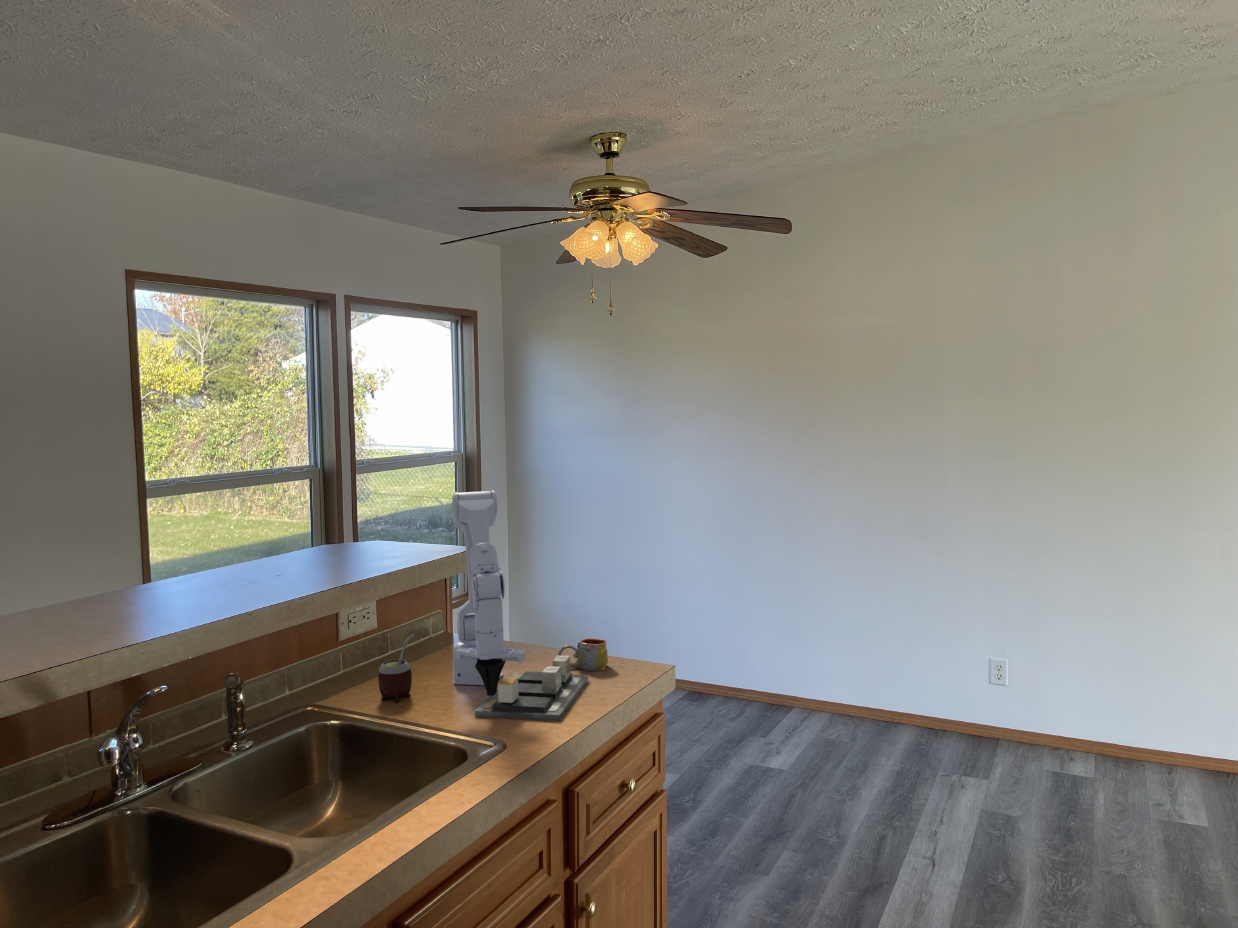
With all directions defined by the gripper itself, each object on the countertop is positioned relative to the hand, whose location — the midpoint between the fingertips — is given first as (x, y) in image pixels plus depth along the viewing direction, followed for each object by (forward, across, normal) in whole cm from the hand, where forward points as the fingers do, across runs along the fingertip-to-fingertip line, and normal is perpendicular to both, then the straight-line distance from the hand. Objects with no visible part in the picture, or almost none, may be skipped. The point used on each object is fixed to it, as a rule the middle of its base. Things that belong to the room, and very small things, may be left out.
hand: (491, 693), depth 173 cm
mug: (+4, +12, +30) cm, 32 cm away
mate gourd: (+4, -23, +4) cm, 24 cm away
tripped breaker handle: (+1, +4, 0) cm, 4 cm away
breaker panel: (+3, +7, +8) cm, 11 cm away
